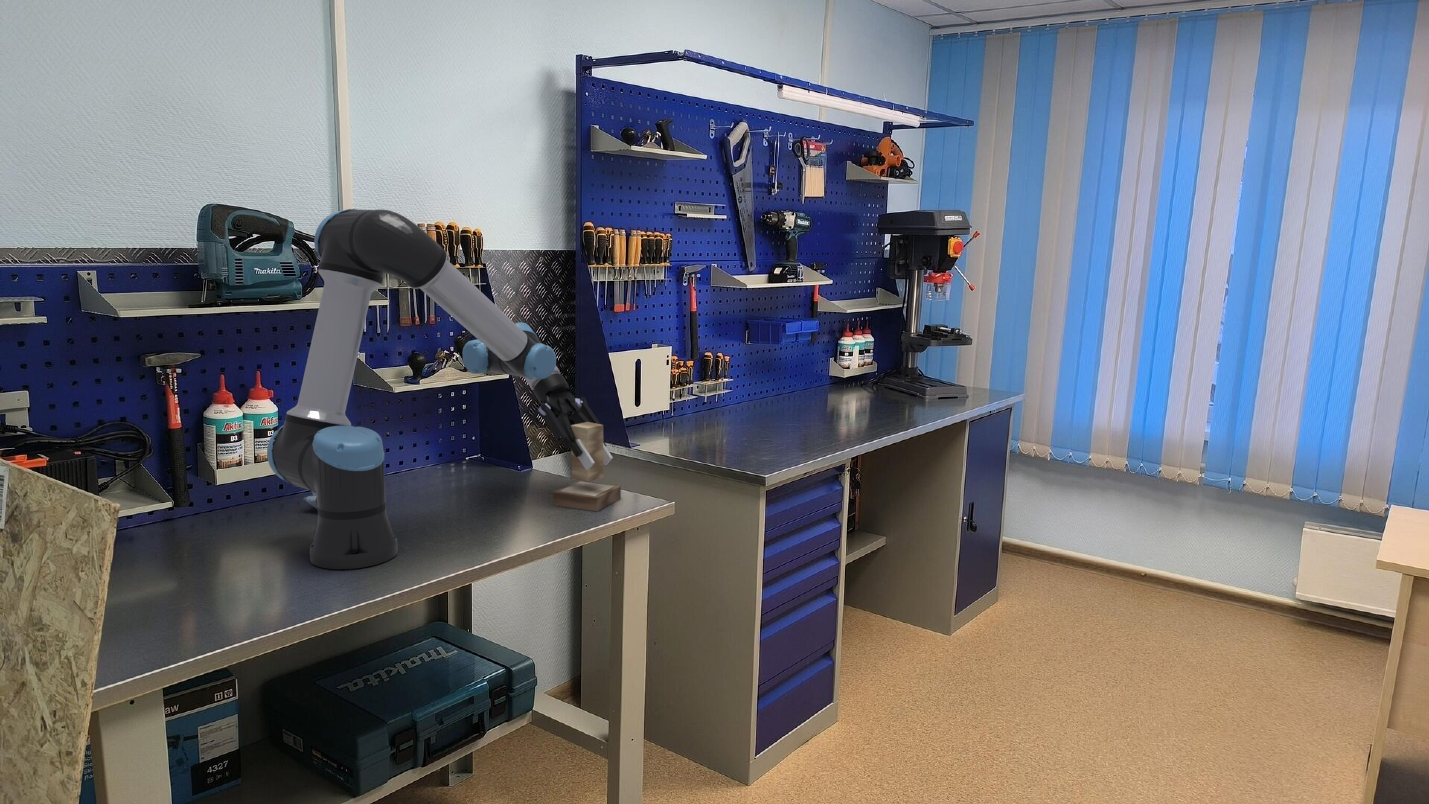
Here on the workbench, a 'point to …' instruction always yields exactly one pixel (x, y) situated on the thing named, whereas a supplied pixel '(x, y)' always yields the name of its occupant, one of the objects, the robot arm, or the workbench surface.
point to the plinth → (586, 495)
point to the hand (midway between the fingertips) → (599, 463)
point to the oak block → (594, 445)
